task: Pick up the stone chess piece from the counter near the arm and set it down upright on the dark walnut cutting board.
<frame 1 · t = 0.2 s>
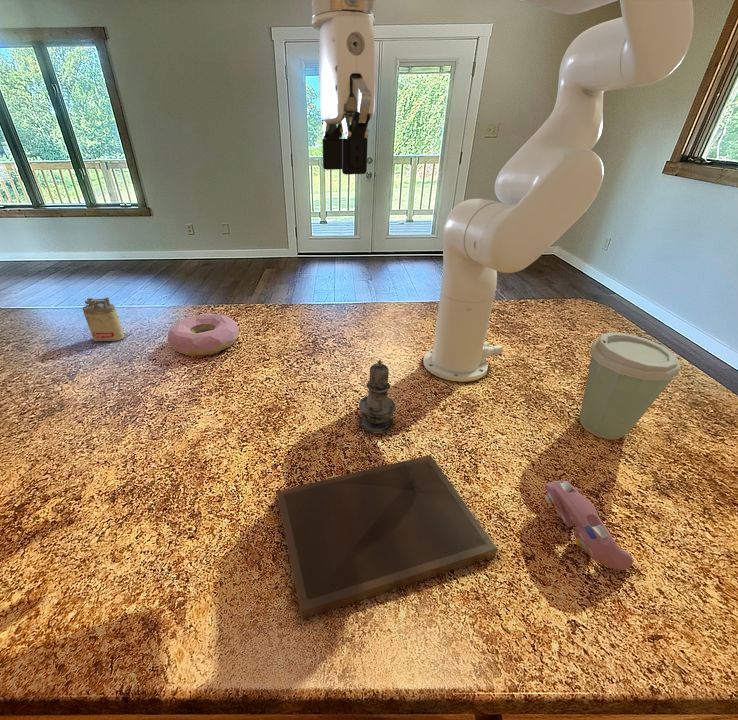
hand: (343, 171, 53), 37 cm above the countertop, tool pointing down, fingers open, 9 cm apart
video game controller: (577, 535, 45), on the countertop
lighter: (110, 338, 91), on the countertop
disposable coffee cup: (601, 428, 61), on the countertop
board: (377, 525, 46), on the countertop
stone chess piece: (376, 423, 63), on the countertop
donut: (205, 344, 88), on the countertop
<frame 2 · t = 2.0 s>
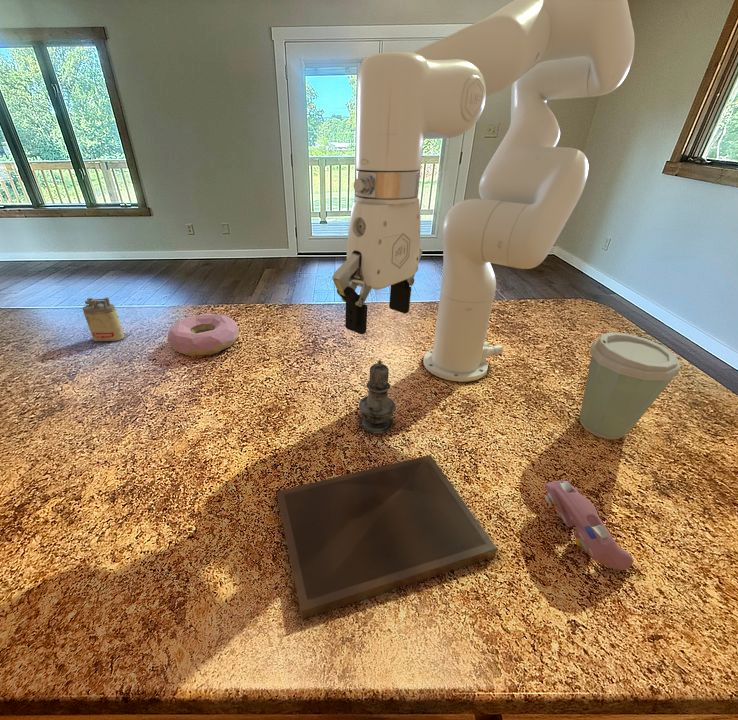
hand: (378, 320, 53), 18 cm above the countertop, tool pointing down, fingers open, 9 cm apart
nothing on the countertop moved.
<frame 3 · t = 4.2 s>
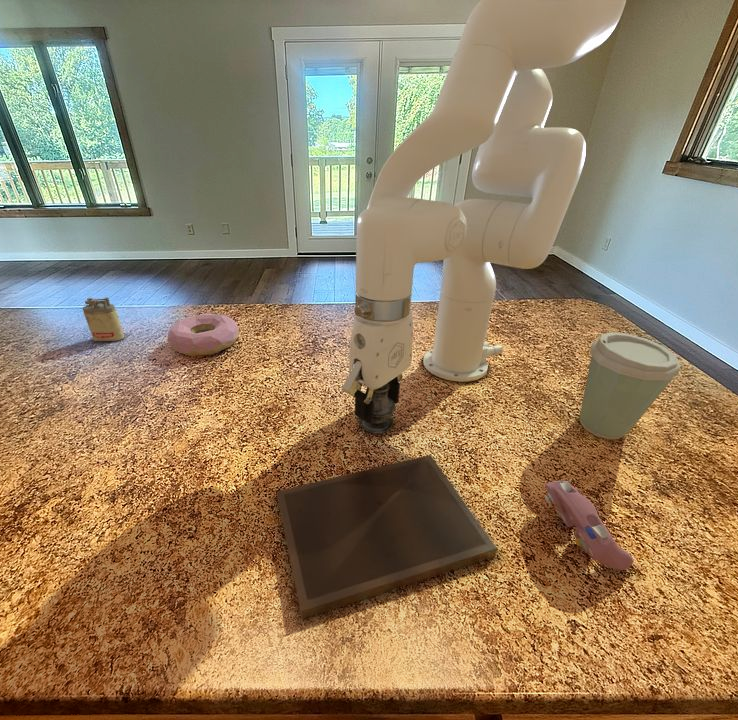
hand: (377, 408, 61), 3 cm above the countertop, tool pointing down, fingers closed on stone chess piece, 5 cm apart
stone chess piece: (376, 423, 63), on the countertop, touching gripper
everything else where it was.
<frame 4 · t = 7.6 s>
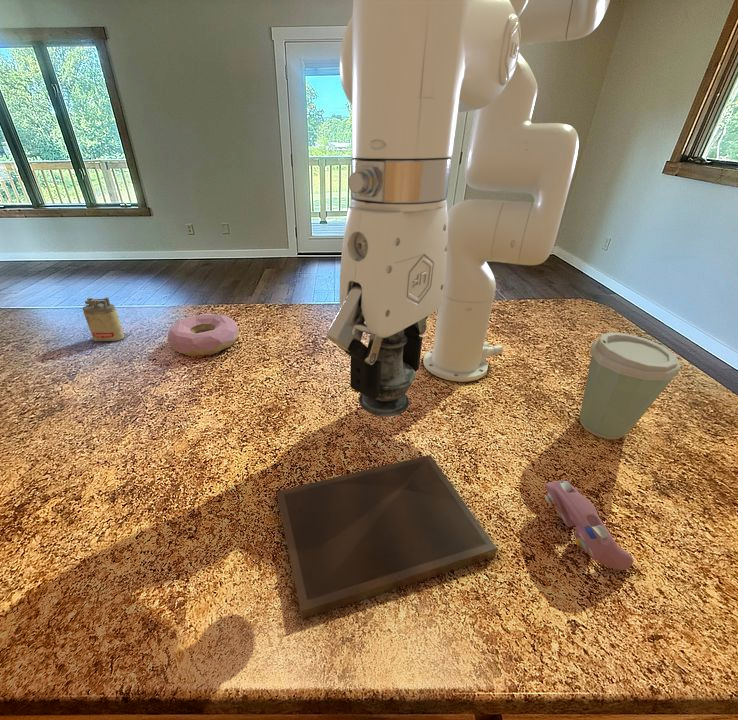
hand: (385, 377, 39), 19 cm above the countertop, tool pointing down, fingers closed on stone chess piece, 5 cm apart
stone chess piece: (383, 402, 40), point 16 cm above the countertop, touching gripper
everything else where it was.
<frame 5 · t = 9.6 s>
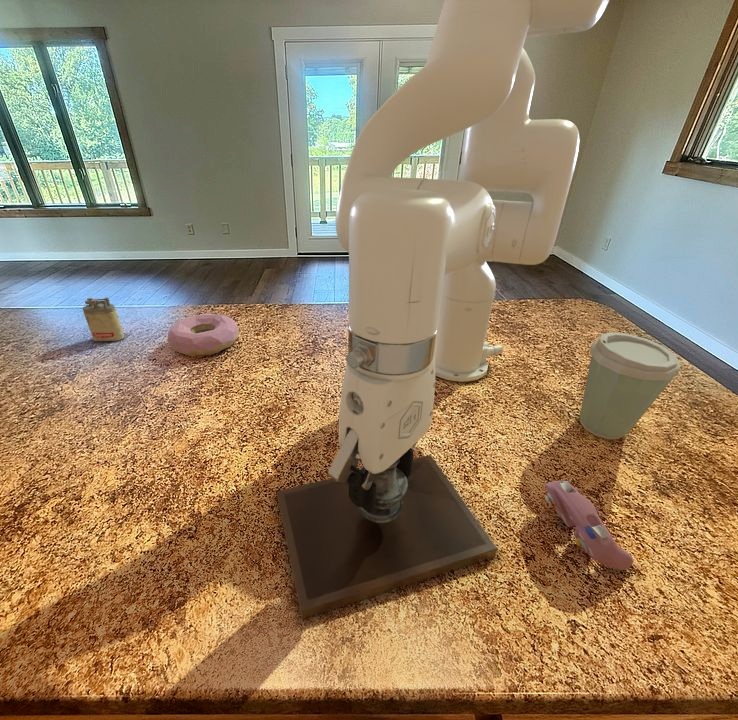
hand: (380, 485, 42), 7 cm above the countertop, tool pointing down, fingers closed on stone chess piece, 5 cm apart
stone chess piece: (379, 504, 44), point 4 cm above the countertop, touching gripper
everything else where it was.
when the fingers open (4 cm above the countertop, at t = 10.9 s): stone chess piece stays where it is, resting on board.
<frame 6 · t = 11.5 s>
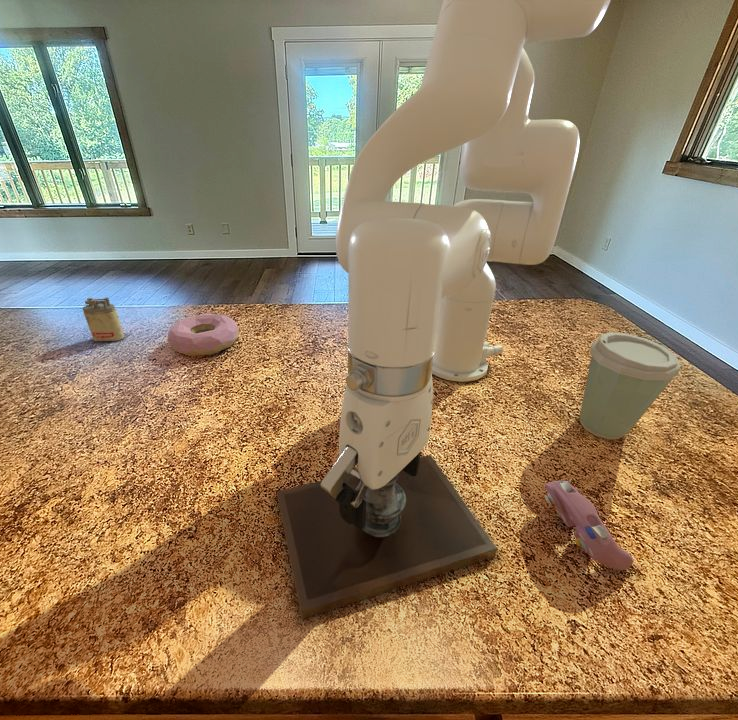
hand: (380, 493, 43), 6 cm above the countertop, tool pointing down, fingers open, 9 cm apart
stone chess piece: (378, 518, 45), point 1 cm above the countertop, touching board
everything else where it was.
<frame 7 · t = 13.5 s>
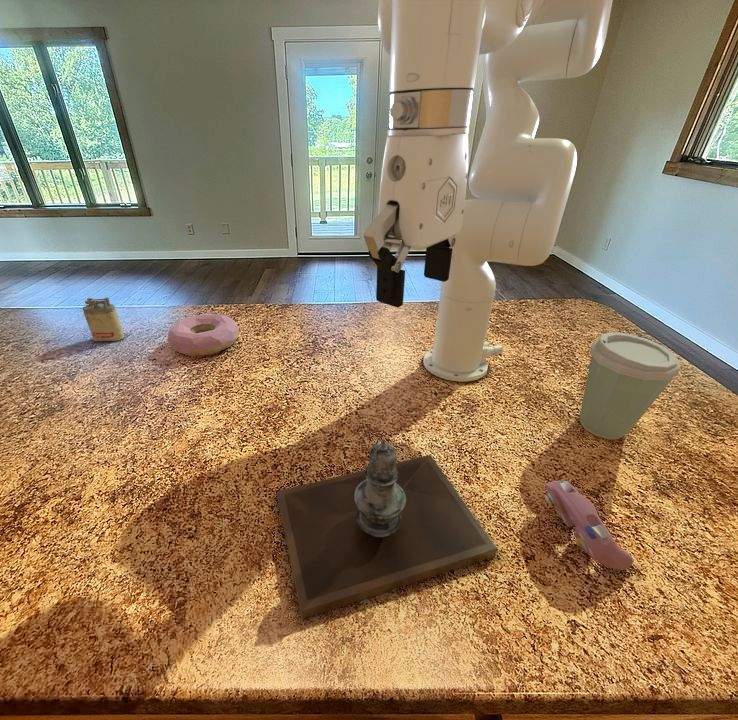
hand: (414, 290, 44), 25 cm above the countertop, tool pointing down, fingers open, 9 cm apart
nothing on the countertop moved.
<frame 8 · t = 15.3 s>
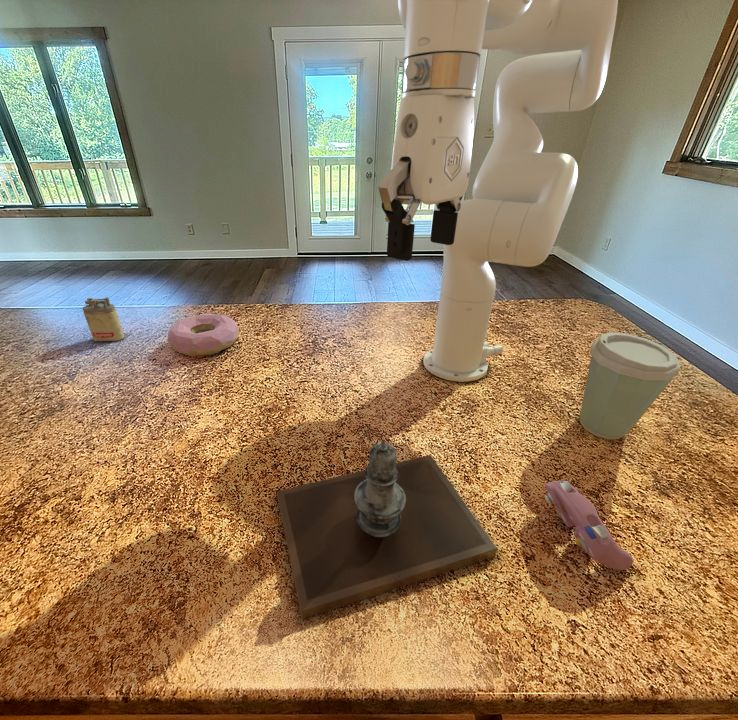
hand: (421, 250, 48), 28 cm above the countertop, tool pointing down, fingers open, 9 cm apart
nothing on the countertop moved.
at the end: stone chess piece inside the target area on the board (0.1 cm from its centre), point 1.3 cm above the board's base; stone chess piece tilted 0°; the gripper is holding nothing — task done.
